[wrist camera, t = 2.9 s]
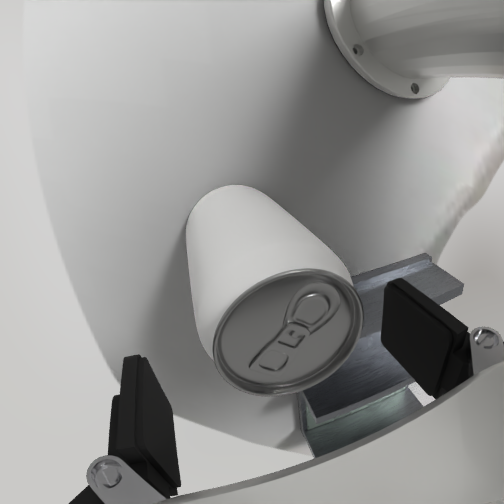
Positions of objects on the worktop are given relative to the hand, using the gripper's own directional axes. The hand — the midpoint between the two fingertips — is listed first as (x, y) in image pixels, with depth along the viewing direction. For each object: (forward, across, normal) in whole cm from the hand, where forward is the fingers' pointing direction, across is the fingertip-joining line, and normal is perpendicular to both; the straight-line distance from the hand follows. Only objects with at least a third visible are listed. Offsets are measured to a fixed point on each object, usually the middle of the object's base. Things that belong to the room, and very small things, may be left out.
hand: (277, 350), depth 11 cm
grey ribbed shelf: (+12, -11, +15) cm, 22 cm away
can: (+12, -1, -1) cm, 12 cm away
